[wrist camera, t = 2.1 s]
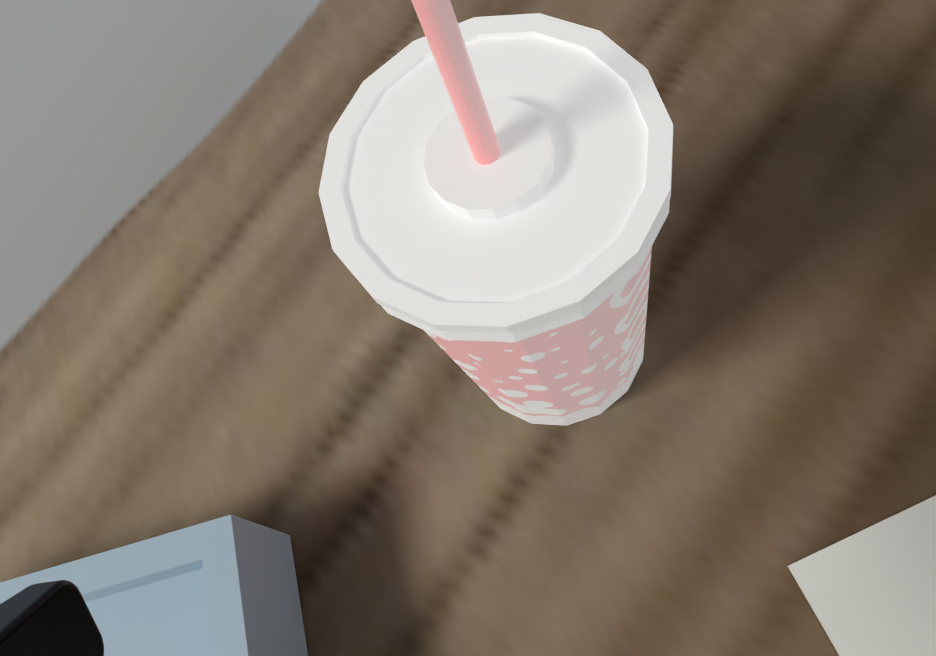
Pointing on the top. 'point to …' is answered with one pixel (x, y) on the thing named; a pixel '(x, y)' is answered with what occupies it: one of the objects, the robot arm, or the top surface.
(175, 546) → the rectangular tray
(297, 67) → the top surface
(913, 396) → the top surface
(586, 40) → the beverage cup
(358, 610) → the top surface
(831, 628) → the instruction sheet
